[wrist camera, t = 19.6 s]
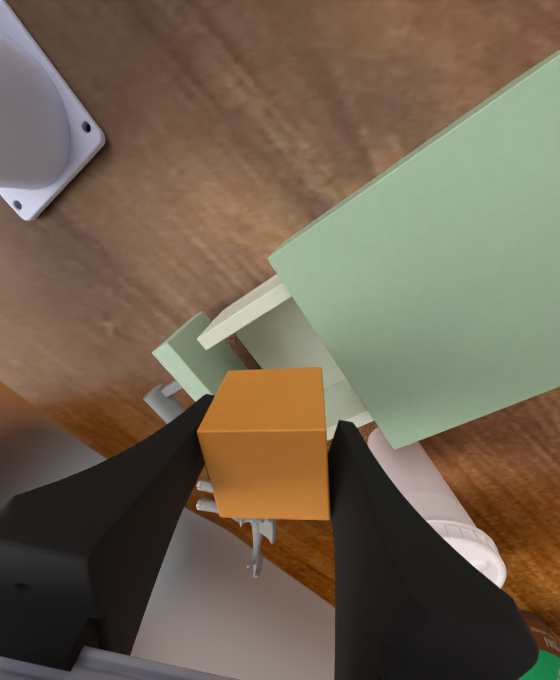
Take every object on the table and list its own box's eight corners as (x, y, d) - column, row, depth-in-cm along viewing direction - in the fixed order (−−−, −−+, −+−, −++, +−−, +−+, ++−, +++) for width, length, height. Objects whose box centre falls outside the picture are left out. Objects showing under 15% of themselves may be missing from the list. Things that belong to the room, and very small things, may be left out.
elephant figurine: (181, 438, 26) (260, 443, 21) (228, 435, 31) (301, 438, 26) (170, 568, 23) (258, 609, 18) (223, 543, 28) (304, 569, 23)
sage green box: (368, 378, 21) (394, 450, 15) (282, 242, 18) (266, 258, 12) (576, 279, 17) (736, 319, 11) (513, 79, 14) (689, -37, 7)
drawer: (233, 443, 24) (214, 501, 19) (148, 347, 21) (100, 387, 16) (428, 349, 19) (469, 396, 14) (352, 207, 16) (370, 204, 11)
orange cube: (242, 442, 15) (219, 518, 11) (228, 369, 13) (195, 431, 9) (326, 441, 14) (330, 521, 10) (321, 365, 12) (326, 429, 9)
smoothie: (359, 404, 22) (425, 659, 10) (443, 415, 22) (628, 695, 9) (344, 464, 25) (380, 727, 12) (419, 475, 25) (536, 757, 12)
